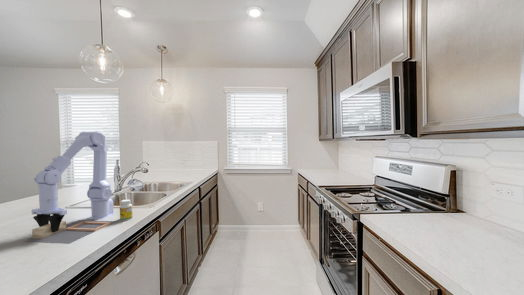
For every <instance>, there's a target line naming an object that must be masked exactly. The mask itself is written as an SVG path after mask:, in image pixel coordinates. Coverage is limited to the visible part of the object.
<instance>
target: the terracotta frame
mask: <svg viewBox="0 0 524 295" xmlns="http://www.w3.org/2000/svg"><path fill="white" fill-rule="evenodd" d="M82 224H104V225H102V226H100V227H98V228H95V229H89V228H74V227H77V226H79V225H82ZM110 225H112V224H111V222H84V221H83V222H81V223H78V224H76V225H73V226H71V227H68V228H66V230H72V231H95V232H98V231H100V230H102V229H103V227H104V228H105V226H106V227H107V226H110ZM101 228H102V229H101Z"/></svg>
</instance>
